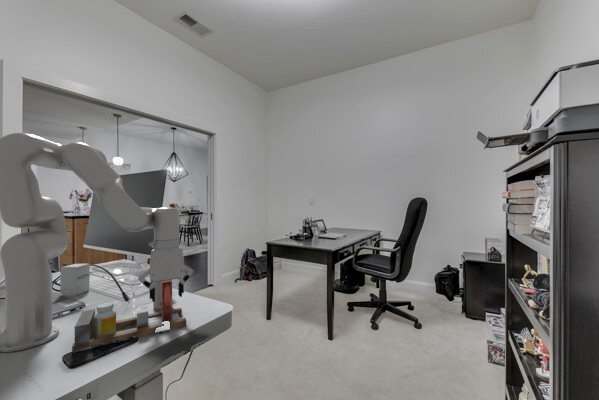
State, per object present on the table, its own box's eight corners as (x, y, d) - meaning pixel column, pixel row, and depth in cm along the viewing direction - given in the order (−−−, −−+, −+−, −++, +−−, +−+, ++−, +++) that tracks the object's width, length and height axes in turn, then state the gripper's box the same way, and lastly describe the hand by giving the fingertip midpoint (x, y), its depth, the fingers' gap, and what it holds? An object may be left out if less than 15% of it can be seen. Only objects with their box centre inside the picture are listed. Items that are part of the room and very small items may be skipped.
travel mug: (165, 312, 94) (164, 257, 95) (149, 310, 96) (149, 256, 96) (176, 305, 101) (176, 254, 101) (161, 304, 102) (161, 253, 102)
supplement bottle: (88, 342, 74) (88, 308, 74) (101, 333, 79) (101, 301, 79) (108, 341, 74) (108, 307, 74) (120, 332, 80) (120, 301, 80)
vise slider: (136, 333, 78) (136, 289, 78) (136, 324, 84) (136, 283, 84) (180, 323, 84) (180, 283, 85) (177, 315, 90) (177, 277, 91)
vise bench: (72, 353, 68) (72, 327, 68) (80, 334, 78) (80, 311, 78) (186, 326, 83) (186, 304, 83) (181, 313, 93) (180, 293, 93)
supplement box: (76, 296, 113) (76, 267, 113) (59, 296, 113) (59, 267, 113) (90, 290, 120) (90, 263, 120) (74, 290, 120) (74, 263, 121)
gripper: (136, 248, 78) (136, 307, 78) (196, 243, 87) (197, 296, 87) (136, 245, 84) (136, 300, 84) (192, 241, 94) (192, 290, 93)
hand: (167, 297), depth 86 cm, fingers open, 7 cm apart
